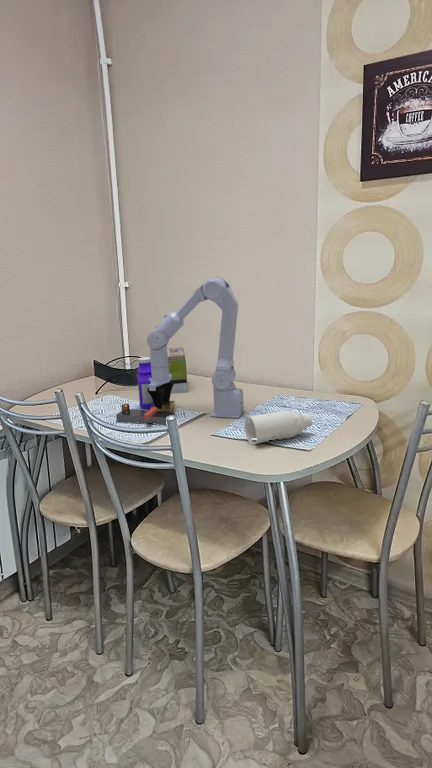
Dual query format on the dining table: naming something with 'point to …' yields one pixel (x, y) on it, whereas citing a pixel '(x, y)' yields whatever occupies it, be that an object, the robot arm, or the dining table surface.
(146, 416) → the lever
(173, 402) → the tan rectangular block
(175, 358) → the tea box
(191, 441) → the dining table surface
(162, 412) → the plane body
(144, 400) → the bottle
